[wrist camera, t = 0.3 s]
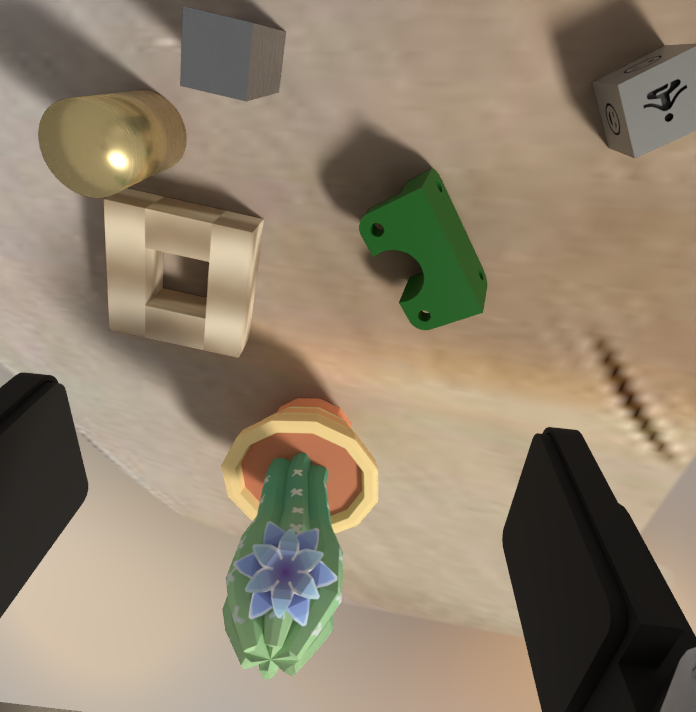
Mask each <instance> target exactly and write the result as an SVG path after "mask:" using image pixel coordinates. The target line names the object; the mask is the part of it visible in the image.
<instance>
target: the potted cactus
mask: <svg viewBox="0 0 696 712" xmlns="http://www.w3.org/2000/svg"><path fill="white" fill-rule="evenodd" d="M221 466H222V471H223V475H224V480H225V485H226V490H227V495H228V496H229V497H230V499H231V500H232V501H233V502H234V503H235V504H236V505H237V506H238V507H239V508H240V509H241V510H242V511H243V512H244V513H245V514H246V515H247V516H248V517H249V518H250V519H251V520H252V521H253V522H252V523H251V524H250V526H249V527H248V528H247V530H246V531H245V532H244V534H243V535H242V537H241V540H240V543H239V545H238V548H237V551H236V553H235V556H234V558H233V561H232V564H231V566H230V569H229V571H228V574H227V577H226V583H227V593H228V596H227V599H226V601H225V604H224V607H223V616H224V624H225V630H226V633H227V635H228V637H229V639H230V642H231V644H232V646H233V648H234V650H235V653H236V655H237V657H238V659H239V662H240V664H241V666H242V667H243V668H244V669H245V668H250V667H254V666H256V665H259V669H260V672H261V675H262V677H263V678H264V679H271V678H272V677H273V676H274V675H275V674H276V673H277V670H278V668H280V669H281V670H283V671H284V672H285V673H287V674H289V675H291V676H293V675H294V674H296V673H297V672H298V671H299V669H300V668H301V667H302V666H303V665H304V664H305V663H306V662H307V661H308V660H309V659H310V657H311V656H312V655H313V654H314V653H315V652H316V651H317V649H318V648H319V647H320V646H321V645H322V644H323V643H324V641H325V640H326V638H327V637H328V636H329V635H330V633H331V632H332V631H333V613H334V611H335V610H336V608H337V607H338V606H339V604H340V603H341V601H342V571H343V552H342V550H341V547H340V545H339V543H338V540H337V538H336V536H335V533H338V532H341V531H343V530H346V529H349V528H351V527H354V526H357V525H359V523H360V522H361V521H362V520H363V519H364V517H365V516H366V515H367V514H368V513H369V511H370V510H371V509H372V508H373V506H374V505H375V504H376V503H377V502H378V468H377V465H376V461H375V459H374V457H373V456H372V455H371V453H370V452H369V451H368V449H367V448H366V447H365V445H364V444H363V443H362V441H361V440H360V439H359V437H358V436H357V435H356V433H355V432H354V431H353V430H352V429H351V422H350V421H349V420H348V418H347V417H346V416H345V414H344V413H343V412H342V410H341V409H340V408H339V407H337V406H335V405H333V404H330V403H328V402H326V401H324V400H322V399H319V398H297V399H295V400H293V401H291V402H289V403H287V404H285V405H283V406H281V407H280V408H279V410H278V411H277V413H275V414H273V415H271V416H269V417H267V418H264V419H263V420H262V421H260V422H257V423H255V424H253V425H251V426H249V427H247V428H245V429H243V430H242V432H241V433H240V434H239V435H238V436H237V438H236V439H235V441H234V443H233V445H232V447H231V449H230V450H229V452H228V454H227V456H226V458H225V459H224V461H223V463H222V465H221Z"/></svg>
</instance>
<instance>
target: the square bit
mask: <svg viewBox="0 0 696 712" xmlns="http://www.w3.org/2000/svg"><path fill="white" fill-rule="evenodd" d="M285 37H286V32H285V31H281V30H277V29H274V28H270V27H266V26H262V25H259V24H255V23H251V22H247V21H243V20H239V19H235V18H230V17H226V16H222V15H218V14H214V13H210V12H206V11H201V10H197V9H193V8H189V7H185V6H183V13H182V46H181V79H180V86H183V87H188V88H192V89H196V90H200V91H205V92H209V93H213V94H217V95H222V96H226V97H230V98H234V99H239V100H243V101H249V100H253V99H256V98H260V97H264V96H267V95H271V94H275V93H278V92H279V87H280V79H281V70H282V62H283V54H284V45H285Z"/></svg>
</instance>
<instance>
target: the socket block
mask: <svg viewBox="0 0 696 712" xmlns="http://www.w3.org/2000/svg"><path fill="white" fill-rule="evenodd" d="M104 218H105V241H106V264H107V287H108V310H109V330H112V331H117V332H121V333H126V334H131V335H135V336H140V337H145V338H149V339H154V340H158V341H163V342H168V343H172V344H177V345H182V346H186V347H191V348H195V349H200V350H205V351H209V352H214V353H219V354H223V355H228V356H232V357H237V358H239V356H240V354H241V353H242V351H243V349H244V347H245V345H246V343H247V341H248V339H249V337H250V328H251V320H252V312H253V303H254V295H255V287H256V278H257V270H258V261H259V253H260V245H261V236H262V228H263V220H264V219H260V218H256V217H252V216H247V215H243V214H238V213H234V212H230V211H225V210H221V209H216V208H212V207H208V206H203V205H199V204H194V203H190V202H185V201H181V200H177V199H172V198H168V197H163V196H159V195H155V194H150V193H146V192H141V191H137V190H133V189H128V188H126V189H124V190H122V191H120V192H118V193H115V194H113V195H111V196H109V197H107V198H105V199H104ZM164 252H167V253H171V254H176V255H180V256H185V257H189V258H194V259H198V260H203V261H207V262H209V274H208V289H207V298H206V297H201V296H197V295H192V294H188V293H183V292H178V291H174V290H169V289H165V288H163V257H164Z"/></svg>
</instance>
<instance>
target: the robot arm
mask: <svg viewBox="0 0 696 712" xmlns="http://www.w3.org/2000/svg"><path fill="white" fill-rule="evenodd" d="M87 492H88V481H87V477H86V472H85V468H84V464H83V460H82V456H81V452H80V447H79V444H78V439H77V435H76V431H75V427H74V422H73V418H72V414H71V410H70V406H69V402H68V397H67V393H66V390H65V387H64V386H63V385H62V384H59V383H58V381H57V379H56V378H55V377H54V376H51V375H43V374H33V373H19V374H17V375H16V376H14V377H13V378H12V379H11V380H9V381H8V382H7V383H6V384H4V385H3V386H2V387H1V388H0V618H1V616H2V615H3V614H4V612H5V611H6V609H7V608H8V607H9V605H10V604H11V602H12V601H13V600H14V598H15V597H16V596H17V594H18V593H19V591H20V590H21V589H22V587H23V586H24V584H25V583H26V582H27V580H28V579H29V577H30V576H31V575H32V573H33V572H34V570H35V569H36V567H37V566H38V565H39V563H40V562H41V561H42V559H43V558H44V556H45V555H46V554H47V552H48V551H49V549H50V548H51V547H52V545H53V544H54V542H55V541H56V540H57V538H58V537H59V535H60V534H61V533H62V531H63V530H64V528H65V527H66V526H67V524H68V523H69V521H70V520H71V519H72V517H73V516H74V515H75V513H76V512H77V510H78V509H79V508H80V506H81V505H82V503H83V502H84V500H85V498H86V496H87ZM502 541H503V549H504V554H505V558H506V562H507V566H508V570H509V575H510V579H511V583H512V587H513V591H514V596H515V600H516V604H517V608H518V612H519V617H520V621H521V625H522V629H523V634H524V638H525V642H526V646H527V650H528V655H529V659H530V663H531V667H532V671H533V676H534V680H535V684H536V688H537V692H538V696H539V701H540V705H541V709H542V712H696V636H695V634H694V633H693V631H692V629H691V627H690V625H689V623H688V622H687V620H686V618H685V616H684V614H683V612H682V611H681V609H680V607H679V605H678V603H677V601H676V599H675V598H674V596H673V594H672V592H671V590H670V588H669V586H668V585H667V583H666V581H665V579H664V577H663V575H662V574H661V572H660V570H659V568H658V566H657V564H656V562H655V561H654V559H653V557H652V555H651V553H650V551H649V550H648V548H647V546H646V544H645V542H644V540H643V539H642V537H641V535H640V533H639V531H638V529H637V527H636V526H635V524H634V522H633V520H632V518H631V516H630V515H629V513H628V512H627V510H626V509H625V507H623V506H622V505H620V504H619V503H618V502H617V500H616V498H615V496H614V494H613V492H612V491H611V489H610V487H609V485H608V483H607V481H606V479H605V477H604V475H603V474H602V472H601V470H600V468H599V466H598V464H597V462H596V460H595V458H594V457H593V455H592V453H591V451H590V449H589V447H588V445H587V443H586V442H585V440H584V438H583V436H582V434H581V433H580V432H579V431H578V430H572V429H562V428H552V427H548V428H546V429H545V430H544V432H543V434H538V433H537V434H535V435H534V437H533V439H532V442H531V445H530V449H529V452H528V455H527V458H526V461H525V464H524V467H523V470H522V473H521V476H520V479H519V483H518V486H517V489H516V492H515V495H514V498H513V501H512V504H511V507H510V510H509V514H508V517H507V520H506V523H505V526H504V529H503V538H502ZM0 712H80V711H71V710H62V709H55V708H46V707H38V706H29V705H19V704H12V703H3V702H0Z"/></svg>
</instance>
